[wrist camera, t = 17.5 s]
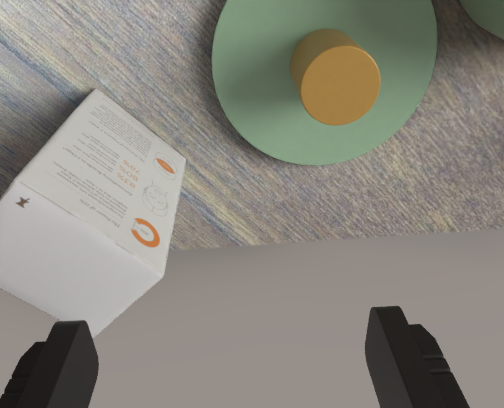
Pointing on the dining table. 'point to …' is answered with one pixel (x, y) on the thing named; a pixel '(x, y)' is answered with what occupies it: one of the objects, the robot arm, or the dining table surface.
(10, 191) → the small box
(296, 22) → the lid
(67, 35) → the dining table surface
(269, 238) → the dining table surface
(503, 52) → the dining table surface
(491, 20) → the tin
